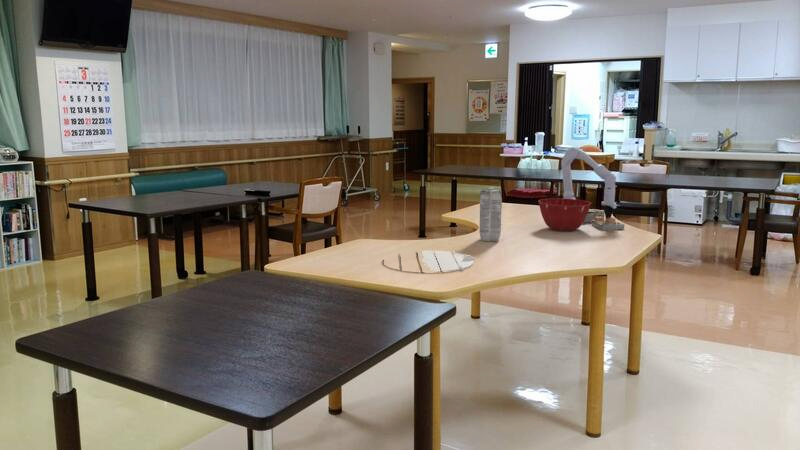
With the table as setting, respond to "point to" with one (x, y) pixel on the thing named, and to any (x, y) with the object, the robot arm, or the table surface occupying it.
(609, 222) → the board
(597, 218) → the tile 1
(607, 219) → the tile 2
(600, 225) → the tray
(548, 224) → the mixing bowl
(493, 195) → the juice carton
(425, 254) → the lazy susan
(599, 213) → the coffee box
